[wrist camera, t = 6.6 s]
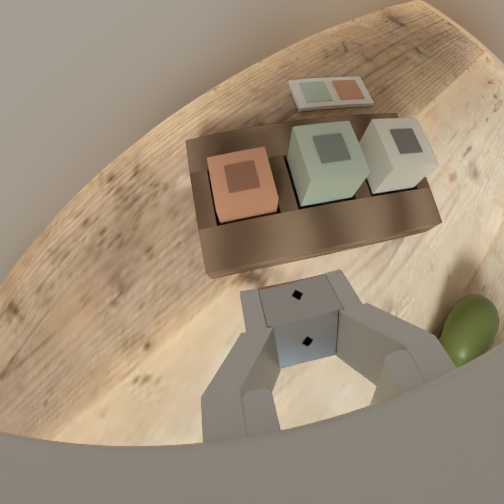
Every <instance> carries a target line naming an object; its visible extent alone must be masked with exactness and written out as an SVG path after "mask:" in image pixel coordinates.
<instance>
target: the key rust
mask: <svg viewBox="0 0 504 504" xmlns="http://www.w3.org/2000/svg"><path fill="white" fill-rule="evenodd" d="M207 162H208V168H209V174H210V180H211V185H212V191H213V197H214V202H215V208H216V212H217V215H218V218H219V221H220V223H221V225H225V224H229V223H234V222H239V221H244V220H249V219H254V218H259V217H264V216H269V215H274V214H276V211H277V205H278V200H279V198H278V194H277V190H276V187H275V183H274V179H273V175H272V172H271V168H270V164H269V161H268V157H267V153H266V150H265V147H259V148H253V149H248V150H243V151H237V152H232V153H227V154H222V155H217V156H213V157H208V158H207Z"/></svg>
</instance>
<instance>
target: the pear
mask: <svg viewBox="0 0 504 504" xmlns="http://www.w3.org/2000/svg"><path fill="white" fill-rule="evenodd" d="M498 324H499V318H498V313H497V310H496V308H495V306H494V305H493V303H492V302H491V301H490V300H489V299H487V298H486V297H484V296H481V295H477V294H472V295H468V296H465V297H463V298H462V299H460V300H459V301H458V302H457V303H456V304H455V305H454V307H453V308H452V310H451V311H450V313H449V315H448V317H447V319H446V321H445V323H444V326H443V330H442V334H441V336H440V338H439V342H440V343H441V345H442V346H443V348H444V349H445V351H446V352H447V354H448V355H449V357H450V358H451V360H452V361H453V363H454V364H455V366H456V368H459V367H461V366H462V365H464V364H466V363H468V362H470V361H472V360H474V359H475V358H477V357H479V356H481V355H482V354H484V353H486V352H487V351H488V349H489V348H490V346H491V344H492V342H493V340H494V338H495V336H496V333H497V329H498Z"/></svg>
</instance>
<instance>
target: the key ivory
mask: <svg viewBox="0 0 504 504" xmlns="http://www.w3.org/2000/svg"><path fill="white" fill-rule="evenodd" d="M359 144H360V147H361V149H362V152H363V154H364V157H365V159H366V162H367V164H368V167H369V170H370V173H369V175H368V176H367V180H368V183H369V186H370V188H371V191H372V194H375V193H381V192H388V191H394V190H400V189H407V188H413V187H415V186H416V185H417V184H418V183H419V182H420V181H421V180H422V179H423V178H424V177H425V176H426V175H427V174H428V173H430V172H431V171H432V170H433V169H434V168H435V167H436V166H437V165H438V162H437V160H436V158H435V156H434V153H433V151H432V149H431V147H430V145H429V143H428V140H427V138H426V136H425V134H424V132H423V130H422V128H421V126H420V124H419V122H418V121H417V119H416V118H388V119H372V120H371V122H370V124H369V125H368V127H367V129H366V131H365V133H364V135H363V137H362V139H361V140H360V142H359Z"/></svg>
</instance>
